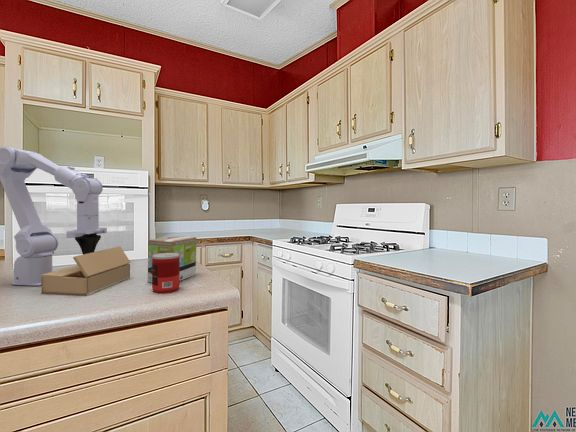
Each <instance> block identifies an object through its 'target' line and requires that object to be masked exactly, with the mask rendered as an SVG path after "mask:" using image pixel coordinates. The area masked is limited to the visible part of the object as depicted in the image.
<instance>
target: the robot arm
mask: <svg viewBox="0 0 576 432" xmlns="http://www.w3.org/2000/svg"><path fill="white" fill-rule="evenodd" d="M37 169H39V170H41V171H43V172H45V173H48V174H50V175H52V176H53V177H54V180H55V181H56V182H57V183H59V184H61V185H63V186H65V187H67V188H69V189H71V190H72V192H73V194H74V197H75V200H76V229H74V230H73V229H72V230H68V231H66V235H65V236H66V238H67V239H73V238H74V240H75V241H76V242H77V244H78V246H79V247H80V250H81V253H82V255H84V254H88V253H93V252H96V251H95V250H96V249H97V246H98V243H99V241H100V240H101V238H102V235H101V234H107V232H108V230H107V229H108V228H107V227H99V226H100V225H99V223H100V222H99V221H100V220H99V217H100V215H99V213H100V212H99V210H100V209H99V206H100V205H99V196H100V195H101V194H102V192H103V184H102V182H101V181H100V180H98V178H94V177H92V178H89V177H88V174H86V173H81V172H79V171H77V170H75V169H76V168H75V167H74V166H71V165H70V166H69V165H68V166H66V165H64V166H63V165H62V166H60V165H58V164H56V163H55V162H54V161H51V160H50V159H48V158H46V157H45V156H43V155H42V154H41V153H37V152H36V151H33V150H25V149H21V148H20V149H19V148H14V147H10V146H7V145H3V146H1V147H0V183H1V185H2V188H3V190H4V193H5V196H6V198H7V200H8V202H9V205H10V207H11V210H12V212H13V215H14V217H15V219H16V221H17V224H18V226H19V229H20V230H18V232H17V233H16V234H15V235H14V236H13V238H14V240H15V250H16V252H17V253H18V255H20V256H18V257H17V258H16V259H15V260H14V263H13V282H11V285H14V286H30V287H31V286H33V287H36V286H37V287H38V286H41V275H42V274H46V273H50V272H53V255H54V254H55V251H56V250H58V247H59V240H58V237H56V235H54V233H53V232H52V230H51V228H49V227H48V226H46V225H44V224H43V223H42V222H41V219H40V215H39V214H38V211H37V209H36V207H35V204H34V201H33V199H32V197H31V194H30V192H29V188H28V187H27V185H26V183H25V180H26V179H28V178H30V177H31V175H33V173H34V172H35V171H36V170H37Z"/></svg>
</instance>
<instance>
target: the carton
mask: <svg viewBox="0 0 576 432" xmlns="http://www.w3.org/2000/svg"><path fill="white" fill-rule="evenodd" d="M128 279H131V264H130V263H129V264H126V265H123V266H120V267H117V268H114V269H111V270H108V271H105V272H102V273H99V274H96V275H92V276H89V277H85V276H84V274H83V273H82V271H81V269H80V268H79V266H78V265H77V264H76V265H72V266H69V267H66V268H62V269H59V270H55V271H52V272H50V273H46V274H42V275H41V285H40V286H41V294H42V295H43V294H44V295H45V294H46V295H62V296H63V295H64V296H65V295H66V296H83V297H84V296H85V297H86V296H87V297H88V296H90V295H92V294H94V293H97V292H99V291H102V290H104V289H106V288H109V287H112V286H114V285H116V284H119V283H122V282H123V281H126V280H128Z"/></svg>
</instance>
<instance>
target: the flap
mask: <svg viewBox="0 0 576 432" xmlns="http://www.w3.org/2000/svg"><path fill="white" fill-rule="evenodd" d="M72 259H73V260H74V262H75V264H76V266H77V265H78V266H79V268H80V269H81V271H82V273H83V274H84V276H85V277H89V276H92V275H96V274H99V273H102V272H105V271H108V270H111V269H114V268H117V267H120V266H123V265H126V264H130V263H131V261H130V259H129V258H128V256H127V255H126V253H125V251H124V250H123V248H122V247H121V246H120V245H119V246H115V247H112V248H107V249H102V250H97V251H94V252H93V253H88V254H84V255H83V254H81V255H80V254H79V255H76V256H73V257H72Z"/></svg>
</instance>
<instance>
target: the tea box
mask: <svg viewBox="0 0 576 432" xmlns="http://www.w3.org/2000/svg"><path fill="white" fill-rule="evenodd" d="M197 242H198V241H197V236H185V235H172V236H171V235H170V236H165V237H159V238H158V237H157V238H151V239H148V250H147V251H148V252H147V256H148V257H147V283H150V284H152V256H153V255H155V254H160V253H178V254H179V256H180V278H179V282H181V281H183V280H186V279H188V278H191V277H194V276H195V275H196V271H197Z"/></svg>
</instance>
